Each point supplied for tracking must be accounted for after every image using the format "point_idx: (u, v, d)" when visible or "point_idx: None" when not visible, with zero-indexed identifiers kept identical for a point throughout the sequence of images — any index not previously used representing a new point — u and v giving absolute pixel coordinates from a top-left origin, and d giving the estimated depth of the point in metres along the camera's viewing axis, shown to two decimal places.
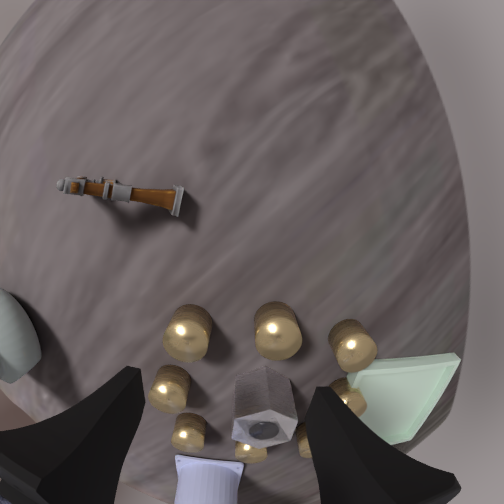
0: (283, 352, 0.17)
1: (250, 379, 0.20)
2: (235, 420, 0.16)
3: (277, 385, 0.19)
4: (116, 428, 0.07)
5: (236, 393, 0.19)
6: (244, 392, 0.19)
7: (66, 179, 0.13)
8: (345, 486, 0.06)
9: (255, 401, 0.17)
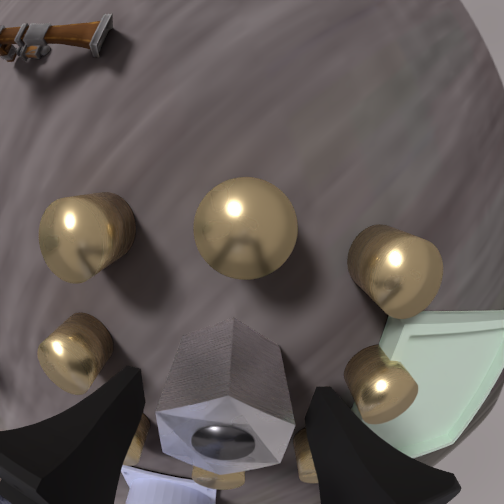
0: (258, 257, 0.08)
1: (203, 340, 0.11)
2: (158, 415, 0.07)
3: (253, 351, 0.10)
4: (116, 428, 0.07)
5: (173, 364, 0.10)
6: (187, 362, 0.10)
7: None
8: (345, 486, 0.06)
9: (203, 378, 0.08)
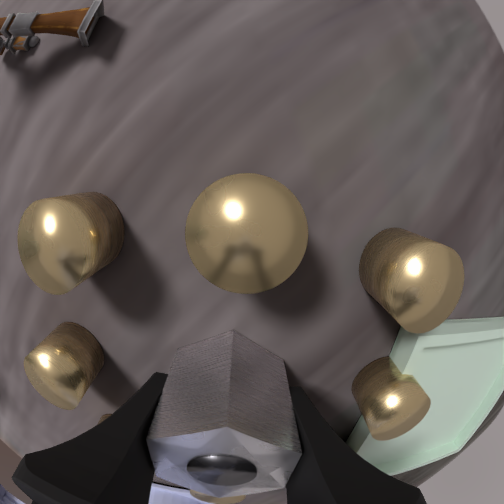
0: (261, 268, 0.07)
1: (199, 356, 0.10)
2: (149, 443, 0.06)
3: (254, 370, 0.09)
4: None
5: (166, 383, 0.09)
6: (181, 382, 0.08)
7: None
8: (305, 491, 0.05)
9: (198, 402, 0.07)
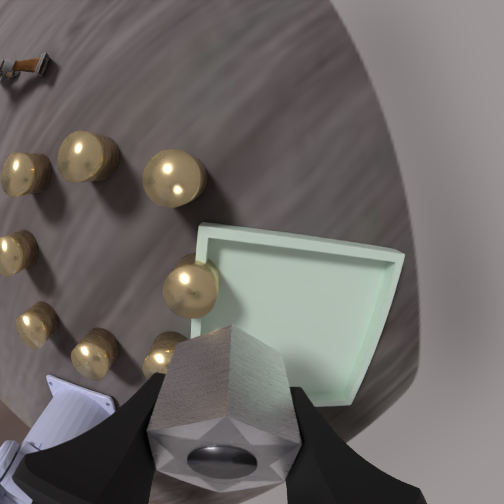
0: (80, 169, 0.13)
1: (199, 349, 0.10)
2: (150, 435, 0.06)
3: (253, 362, 0.09)
4: None
5: (166, 376, 0.09)
6: (181, 374, 0.09)
7: None
8: (306, 491, 0.05)
9: (198, 393, 0.07)
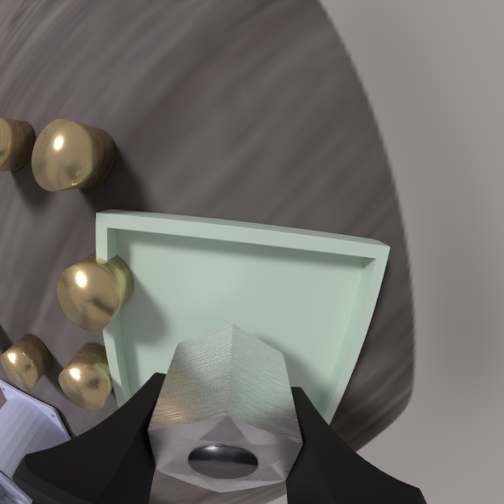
0: None
1: (200, 349, 0.10)
2: (150, 434, 0.06)
3: (254, 362, 0.09)
4: None
5: (167, 376, 0.09)
6: (182, 374, 0.09)
7: None
8: (305, 491, 0.05)
9: (199, 393, 0.07)
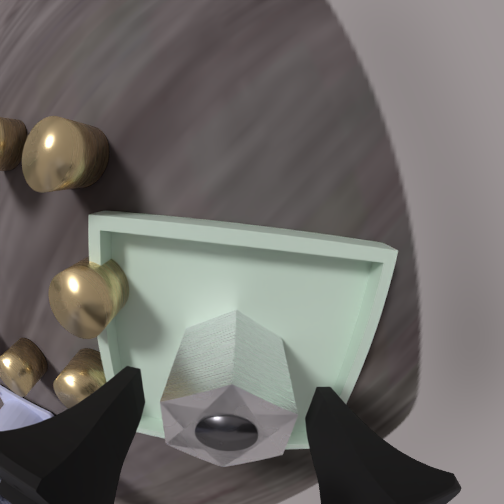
0: None
1: (206, 332, 0.11)
2: (162, 406, 0.08)
3: (256, 343, 0.11)
4: (116, 428, 0.07)
5: (177, 355, 0.10)
6: (191, 353, 0.10)
7: None
8: (345, 486, 0.06)
9: (207, 367, 0.09)
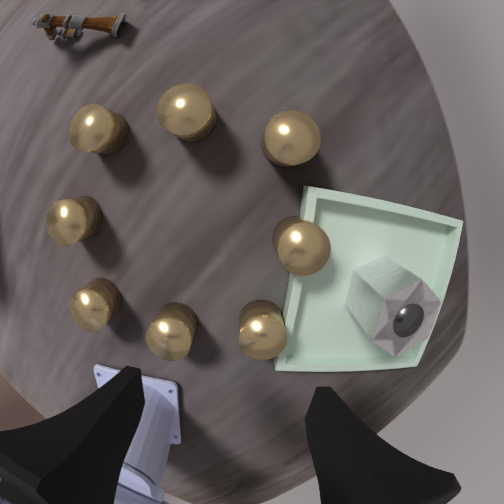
0: (189, 121, 0.13)
1: (375, 267, 0.17)
2: (384, 302, 0.13)
3: None
4: (116, 428, 0.07)
5: (367, 281, 0.16)
6: (377, 277, 0.16)
7: (41, 14, 0.09)
8: (345, 486, 0.06)
9: (398, 278, 0.14)
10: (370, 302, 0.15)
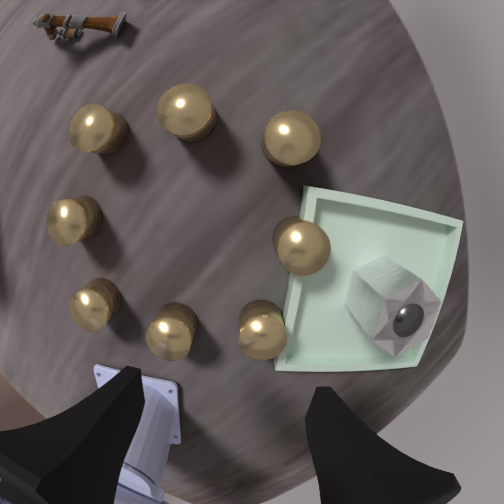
0: (189, 121, 0.13)
1: (375, 267, 0.17)
2: (384, 302, 0.13)
3: None
4: (116, 428, 0.07)
5: (367, 281, 0.16)
6: (377, 277, 0.16)
7: (41, 14, 0.09)
8: (345, 486, 0.06)
9: (398, 278, 0.14)
10: (370, 302, 0.15)
